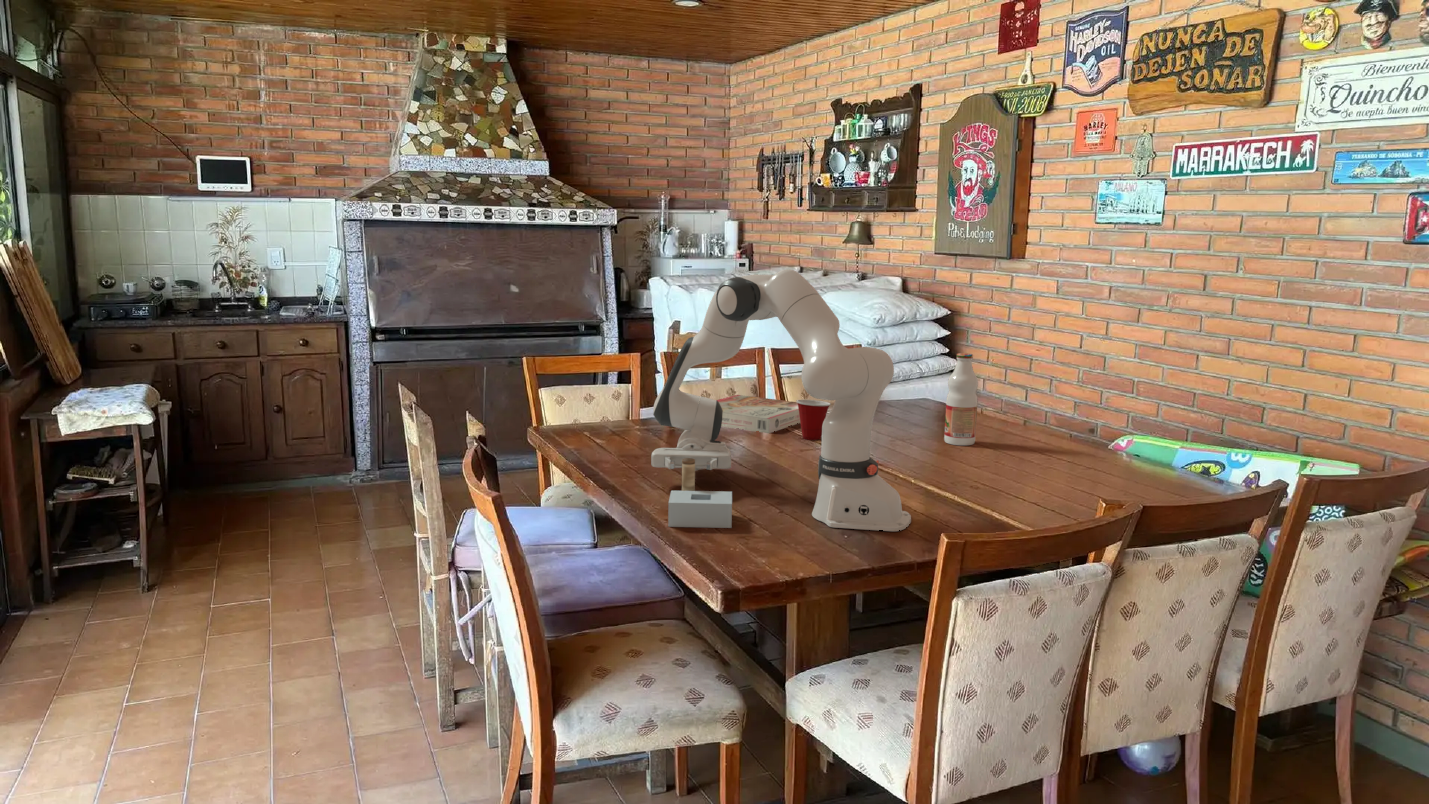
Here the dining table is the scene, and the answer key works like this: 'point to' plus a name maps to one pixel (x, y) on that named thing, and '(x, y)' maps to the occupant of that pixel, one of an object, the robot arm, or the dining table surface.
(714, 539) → the dining table surface
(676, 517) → the socket block
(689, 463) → the dowel pin
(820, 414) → the plastic cup
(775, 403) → the pizza box
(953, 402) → the fruit juice
